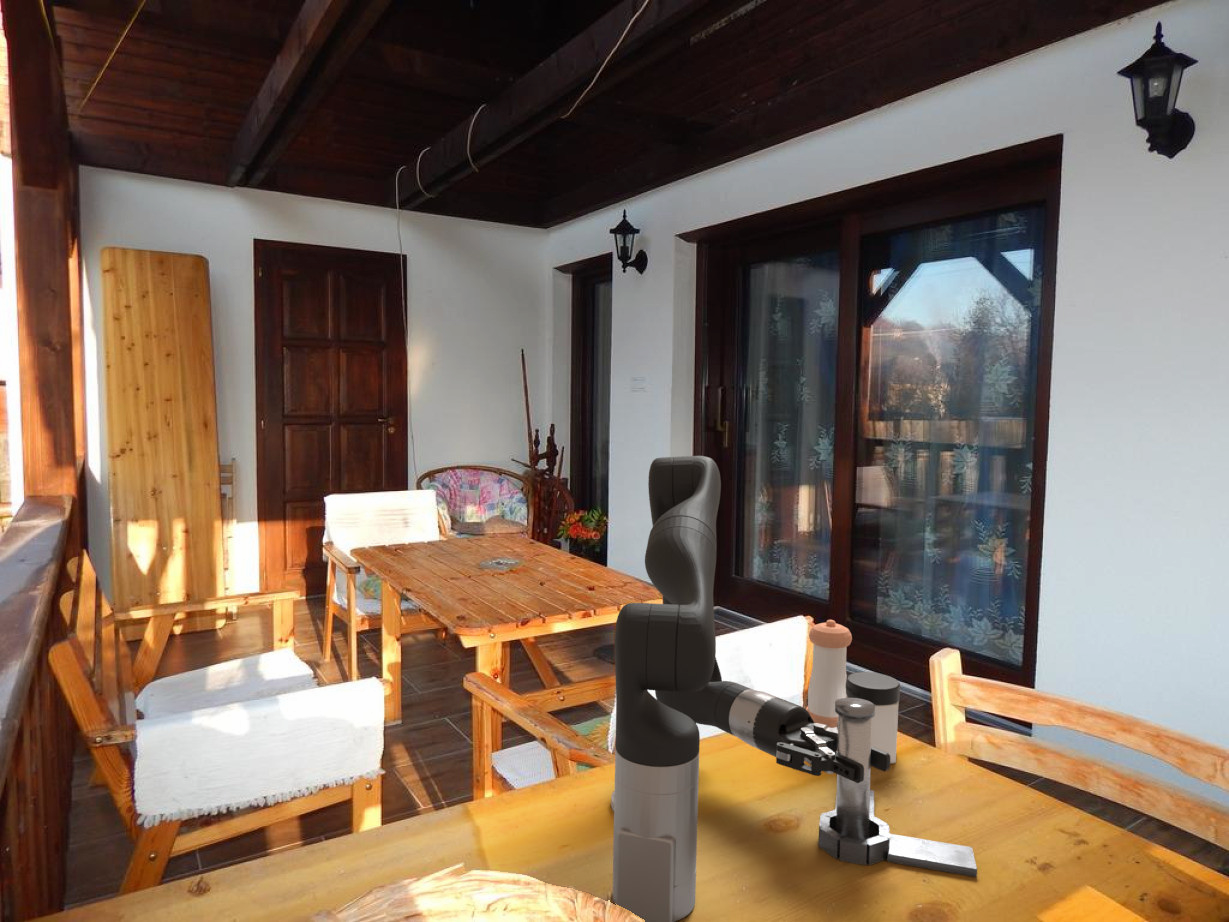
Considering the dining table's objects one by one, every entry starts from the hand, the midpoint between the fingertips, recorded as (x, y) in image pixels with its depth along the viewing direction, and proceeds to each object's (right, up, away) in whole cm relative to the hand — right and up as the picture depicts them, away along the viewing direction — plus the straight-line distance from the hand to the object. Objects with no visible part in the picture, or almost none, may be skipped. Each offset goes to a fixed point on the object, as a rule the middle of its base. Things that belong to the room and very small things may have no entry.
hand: (875, 768), depth 100 cm
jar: (+9, -9, +30) cm, 33 cm away
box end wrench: (+4, -11, +6) cm, 13 cm away
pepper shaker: (+4, -8, +39) cm, 40 cm away
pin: (-2, -11, +3) cm, 11 cm away
